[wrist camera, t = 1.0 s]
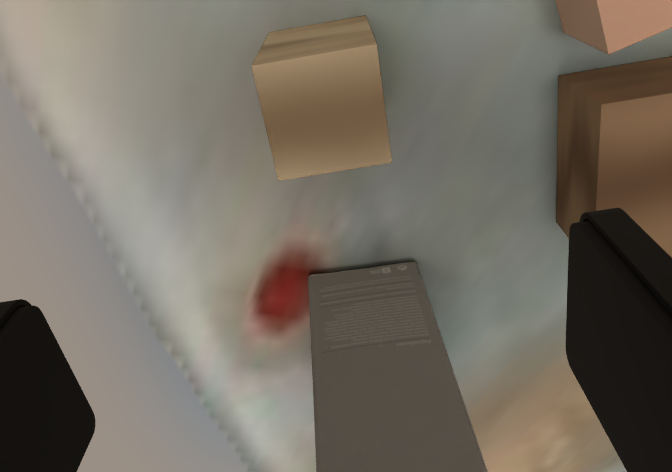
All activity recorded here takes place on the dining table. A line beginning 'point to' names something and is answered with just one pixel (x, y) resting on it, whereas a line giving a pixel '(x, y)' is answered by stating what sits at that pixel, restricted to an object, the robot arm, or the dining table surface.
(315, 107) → the oak block
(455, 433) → the skincare box
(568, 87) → the walnut block
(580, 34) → the terracotta cube
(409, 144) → the dining table surface
